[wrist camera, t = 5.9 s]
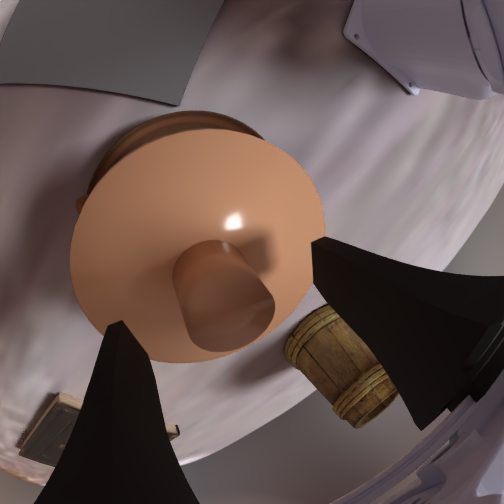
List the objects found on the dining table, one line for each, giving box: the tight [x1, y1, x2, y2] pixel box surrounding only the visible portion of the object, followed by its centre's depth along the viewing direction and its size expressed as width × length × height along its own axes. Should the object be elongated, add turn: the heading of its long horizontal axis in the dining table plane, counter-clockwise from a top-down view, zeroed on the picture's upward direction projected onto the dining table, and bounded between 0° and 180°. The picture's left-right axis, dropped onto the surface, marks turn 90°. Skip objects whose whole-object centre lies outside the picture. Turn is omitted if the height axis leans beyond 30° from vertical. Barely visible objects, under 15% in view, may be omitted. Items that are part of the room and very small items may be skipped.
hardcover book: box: [19, 392, 180, 467], centre depth 24 cm, size 16×23×2 cm
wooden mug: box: [284, 304, 399, 428], centre depth 22 cm, size 9×14×18 cm, turn 122°
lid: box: [70, 128, 325, 363], centre depth 10 cm, size 11×11×4 cm
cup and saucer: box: [76, 111, 264, 214], centre depth 14 cm, size 12×12×6 cm
